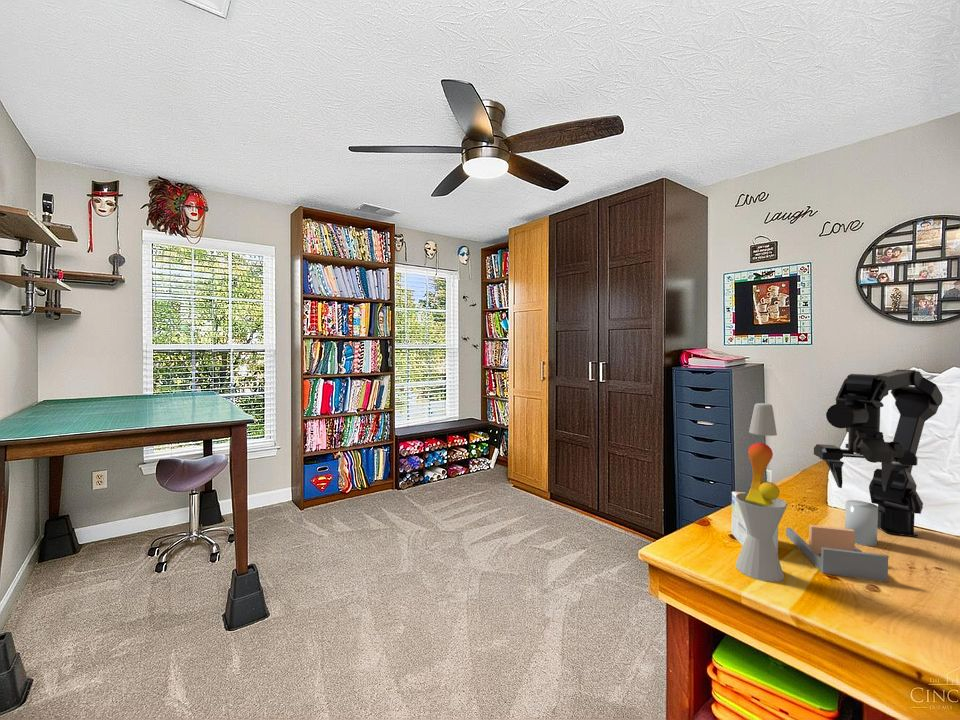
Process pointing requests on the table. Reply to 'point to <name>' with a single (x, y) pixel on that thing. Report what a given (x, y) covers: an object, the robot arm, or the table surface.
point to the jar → (862, 521)
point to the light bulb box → (743, 524)
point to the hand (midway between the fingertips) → (862, 489)
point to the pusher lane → (844, 560)
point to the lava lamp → (761, 506)
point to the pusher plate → (831, 538)
